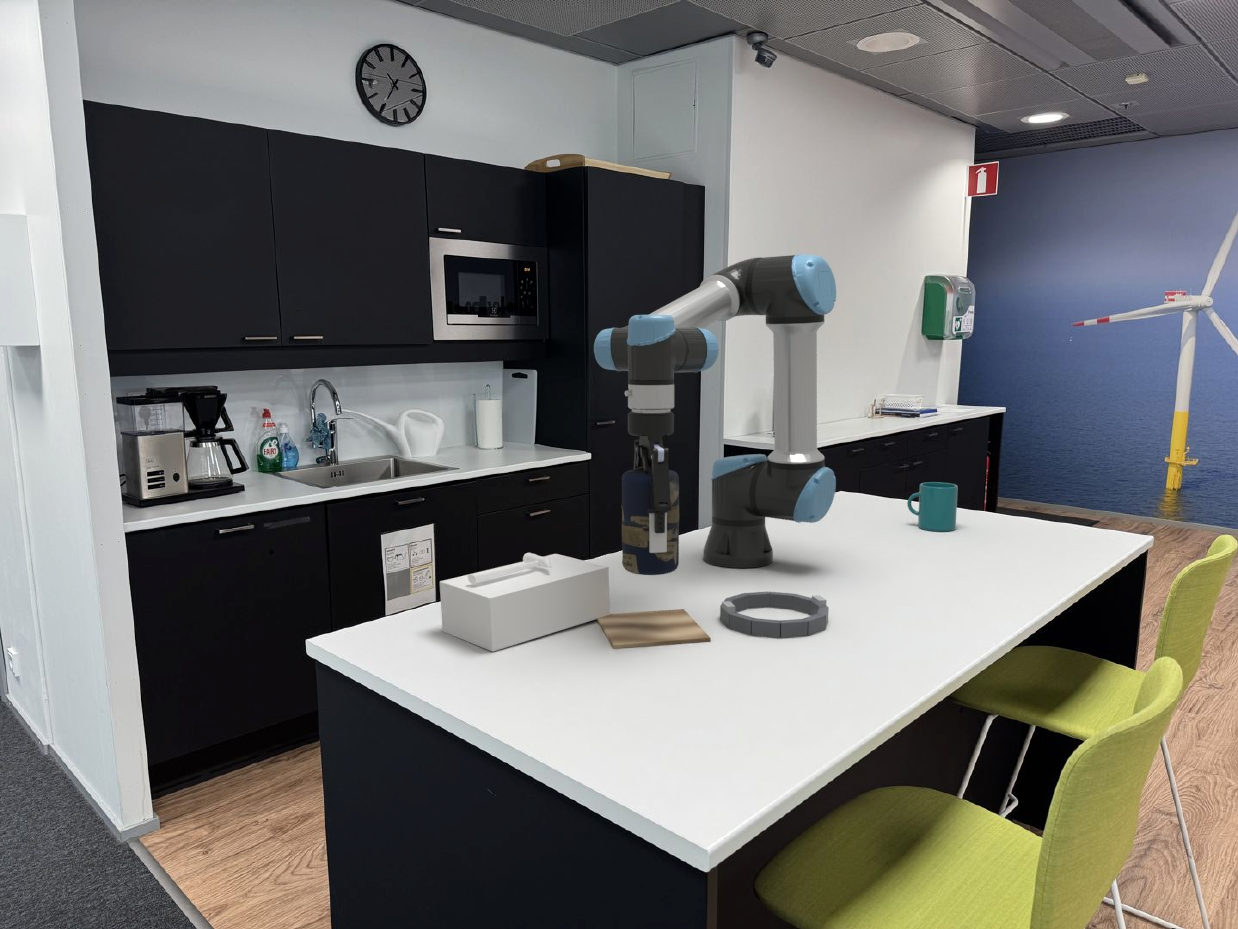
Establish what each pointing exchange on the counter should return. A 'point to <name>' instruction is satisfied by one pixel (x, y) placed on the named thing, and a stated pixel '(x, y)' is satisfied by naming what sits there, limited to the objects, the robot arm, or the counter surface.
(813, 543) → the counter surface
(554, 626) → the tissue box
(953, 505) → the cup
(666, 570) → the canister
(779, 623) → the collar
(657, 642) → the mat
